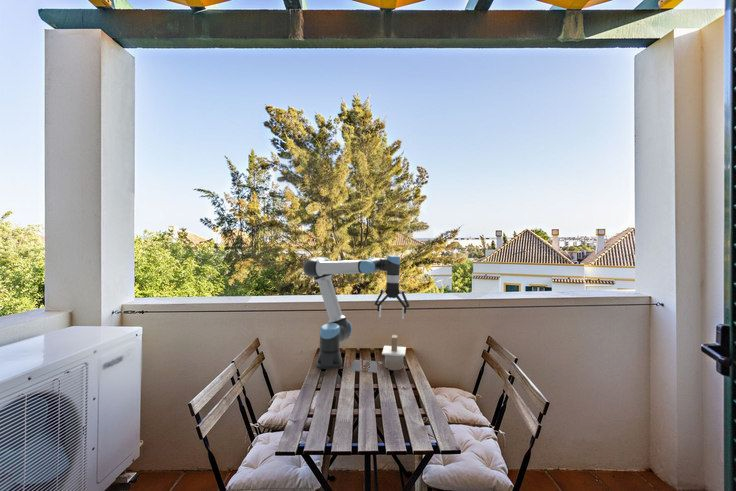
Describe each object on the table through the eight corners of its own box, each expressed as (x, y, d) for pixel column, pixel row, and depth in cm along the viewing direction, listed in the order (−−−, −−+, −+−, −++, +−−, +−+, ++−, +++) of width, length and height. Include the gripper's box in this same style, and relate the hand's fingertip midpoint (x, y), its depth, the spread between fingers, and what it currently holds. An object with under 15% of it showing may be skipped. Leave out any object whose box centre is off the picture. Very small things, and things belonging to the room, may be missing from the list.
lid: (381, 354, 211) (382, 339, 211) (384, 347, 224) (384, 332, 223) (404, 356, 209) (405, 340, 209) (406, 348, 222) (406, 333, 222)
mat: (349, 371, 210) (349, 370, 210) (354, 360, 227) (354, 359, 227) (379, 373, 208) (379, 372, 208) (382, 362, 225) (382, 361, 225)
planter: (407, 368, 216) (407, 352, 215) (392, 372, 210) (392, 356, 209) (395, 362, 225) (395, 347, 224) (381, 366, 219) (381, 350, 218)
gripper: (370, 281, 214) (369, 317, 216) (414, 284, 210) (412, 321, 212) (372, 279, 222) (371, 314, 223) (414, 282, 218) (413, 317, 219)
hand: (391, 317), depth 218 cm, fingers open, 13 cm apart
